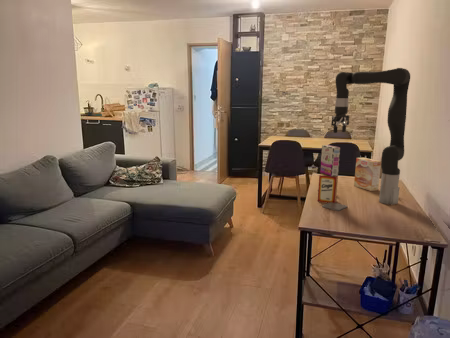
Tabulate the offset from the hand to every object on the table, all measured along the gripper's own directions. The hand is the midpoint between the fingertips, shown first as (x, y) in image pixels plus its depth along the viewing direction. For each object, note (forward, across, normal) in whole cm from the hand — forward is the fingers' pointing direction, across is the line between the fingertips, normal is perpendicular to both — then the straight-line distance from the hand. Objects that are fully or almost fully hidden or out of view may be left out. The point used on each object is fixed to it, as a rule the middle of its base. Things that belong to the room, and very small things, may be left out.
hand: (339, 132), depth 218 cm
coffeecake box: (+38, +25, -6) cm, 46 cm away
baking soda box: (+38, -21, -10) cm, 45 cm away
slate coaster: (+38, -27, -20) cm, 51 cm away
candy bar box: (+22, -21, -10) cm, 32 cm away
